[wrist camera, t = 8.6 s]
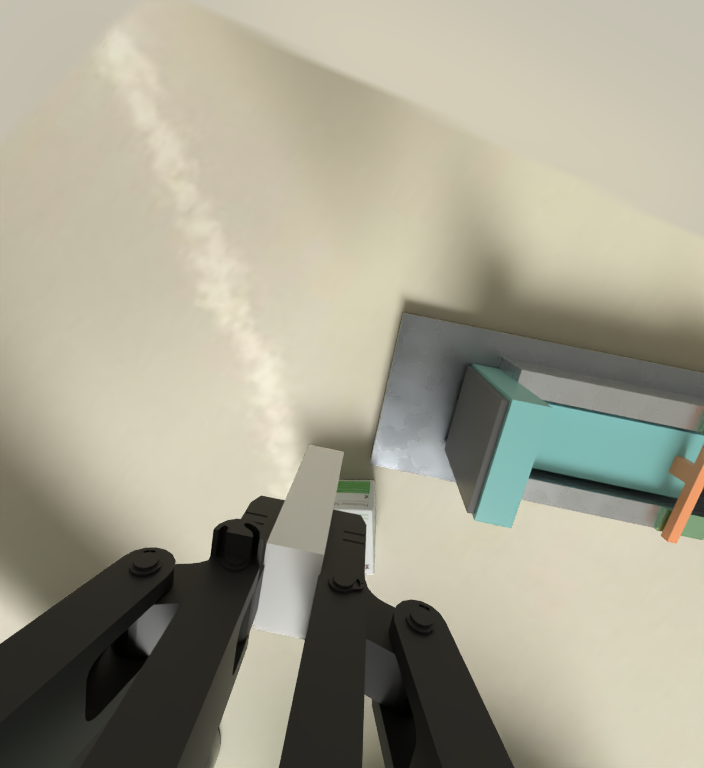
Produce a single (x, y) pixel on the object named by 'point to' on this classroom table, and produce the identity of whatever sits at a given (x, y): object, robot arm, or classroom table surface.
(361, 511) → the small box
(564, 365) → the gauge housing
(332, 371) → the classroom table surface
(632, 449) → the plunger
